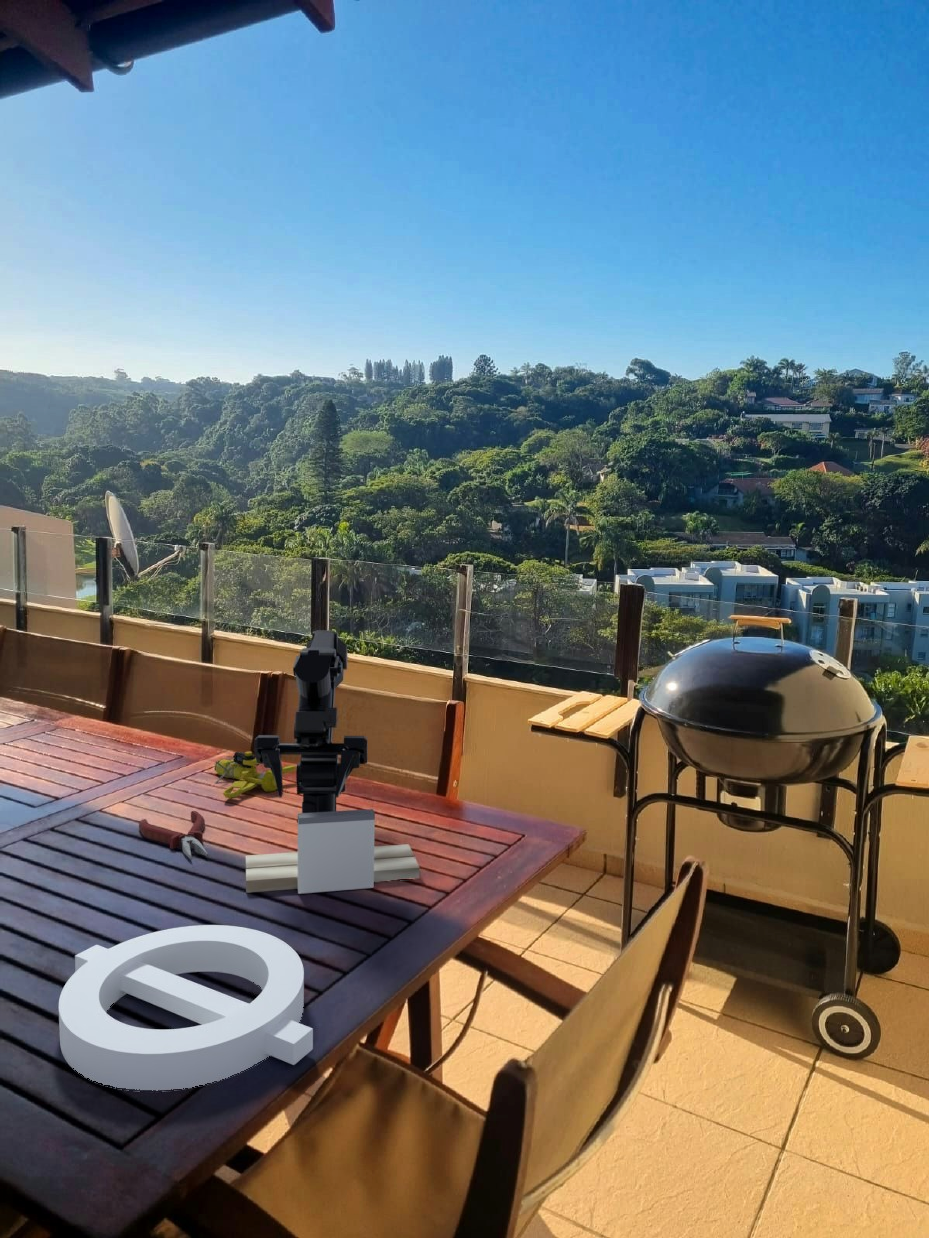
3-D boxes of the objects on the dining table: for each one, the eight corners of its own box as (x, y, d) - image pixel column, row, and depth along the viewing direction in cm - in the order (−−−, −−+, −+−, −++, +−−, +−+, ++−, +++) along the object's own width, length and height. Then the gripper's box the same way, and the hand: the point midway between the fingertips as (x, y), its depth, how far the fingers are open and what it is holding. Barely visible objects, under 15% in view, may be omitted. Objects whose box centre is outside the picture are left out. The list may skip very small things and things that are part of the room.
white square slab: (297, 887, 141) (297, 813, 140) (371, 882, 144) (372, 809, 142) (298, 893, 139) (298, 818, 138) (373, 887, 142) (374, 813, 140)
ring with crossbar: (316, 1071, 98) (317, 1031, 97) (40, 1115, 90) (39, 1072, 89) (291, 946, 124) (292, 915, 124) (77, 971, 116) (76, 937, 116)
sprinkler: (245, 735, 203) (303, 749, 191) (247, 766, 205) (305, 782, 192) (173, 757, 189) (232, 774, 176) (176, 791, 190) (234, 810, 178)
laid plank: (245, 866, 149) (245, 854, 149) (408, 854, 156) (408, 843, 156) (246, 892, 140) (246, 879, 139) (419, 878, 146) (419, 866, 146)
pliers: (165, 870, 148) (165, 855, 148) (136, 831, 164) (136, 817, 164) (232, 857, 154) (232, 843, 154) (198, 820, 171) (197, 807, 170)
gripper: (254, 688, 146) (244, 775, 137) (368, 689, 147) (365, 775, 139) (261, 720, 155) (252, 804, 146) (368, 721, 157) (366, 804, 148)
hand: (308, 796), depth 144 cm, fingers open, 9 cm apart
